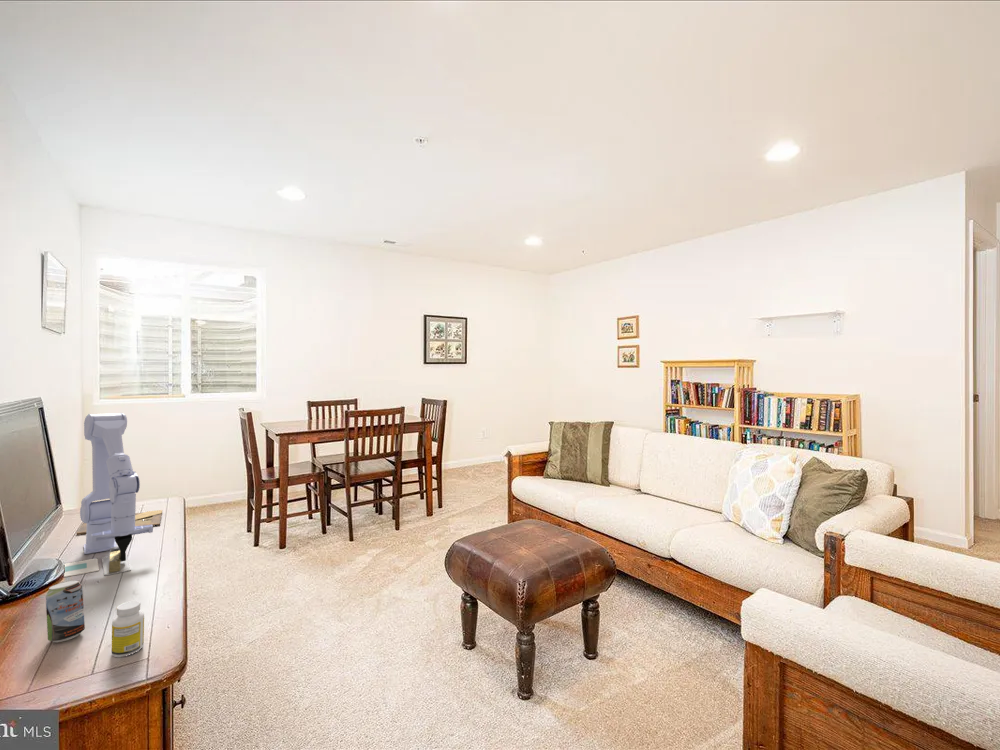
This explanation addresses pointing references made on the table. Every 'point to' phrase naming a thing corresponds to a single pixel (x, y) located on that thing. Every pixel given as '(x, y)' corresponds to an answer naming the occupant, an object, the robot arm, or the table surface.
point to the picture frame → (140, 520)
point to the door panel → (94, 566)
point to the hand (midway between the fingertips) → (122, 560)
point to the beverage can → (65, 611)
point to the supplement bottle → (127, 629)
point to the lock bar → (114, 561)
